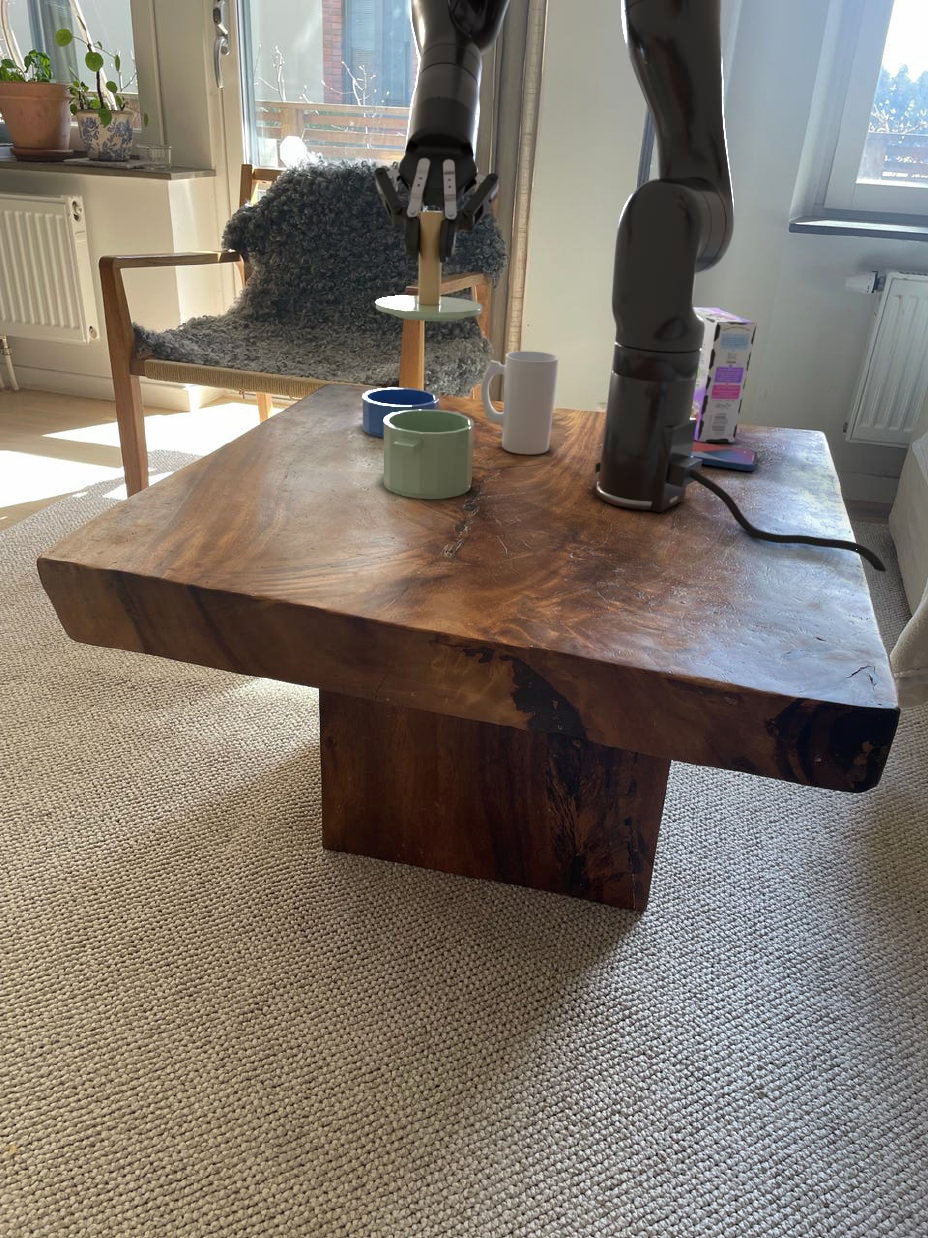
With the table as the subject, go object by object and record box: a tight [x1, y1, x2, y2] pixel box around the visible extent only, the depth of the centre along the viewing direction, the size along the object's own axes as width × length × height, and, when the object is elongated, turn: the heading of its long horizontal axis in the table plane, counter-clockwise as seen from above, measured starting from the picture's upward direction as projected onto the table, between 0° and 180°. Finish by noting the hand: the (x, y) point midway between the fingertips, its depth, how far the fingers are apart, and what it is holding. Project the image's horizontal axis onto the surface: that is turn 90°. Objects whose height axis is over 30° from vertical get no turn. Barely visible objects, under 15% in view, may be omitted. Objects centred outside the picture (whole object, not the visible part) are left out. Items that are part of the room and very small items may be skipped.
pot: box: [383, 409, 475, 500], centre depth 102 cm, size 10×16×8 cm, turn 161°
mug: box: [480, 350, 560, 456], centre depth 116 cm, size 10×7×12 cm, turn 69°
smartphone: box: [691, 441, 758, 472], centre depth 118 cm, size 7×15×1 cm, turn 71°
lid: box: [375, 210, 483, 322], centre depth 93 cm, size 11×11×10 cm
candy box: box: [691, 306, 758, 443], centre depth 127 cm, size 14×6×16 cm, turn 8°
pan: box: [362, 387, 440, 439], centre depth 123 cm, size 10×10×4 cm
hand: (428, 255), depth 91 cm, fingers closed on lid, 2 cm apart
